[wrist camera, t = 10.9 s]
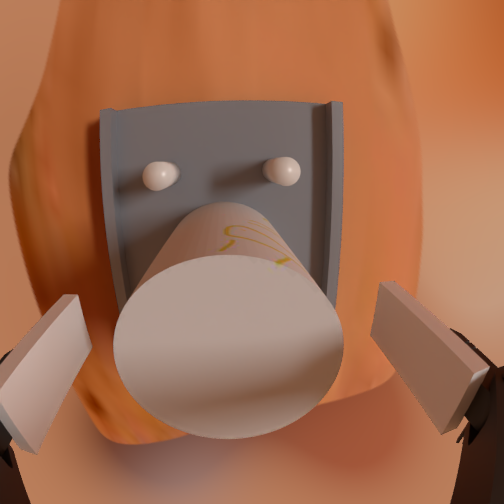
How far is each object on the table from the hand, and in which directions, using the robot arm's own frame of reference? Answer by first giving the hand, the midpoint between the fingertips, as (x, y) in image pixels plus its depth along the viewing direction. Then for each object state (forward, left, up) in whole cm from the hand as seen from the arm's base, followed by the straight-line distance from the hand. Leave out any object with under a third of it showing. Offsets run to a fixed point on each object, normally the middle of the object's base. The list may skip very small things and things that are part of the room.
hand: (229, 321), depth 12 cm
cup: (0, 0, -10) cm, 10 cm away
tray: (0, 0, -11) cm, 11 cm away
